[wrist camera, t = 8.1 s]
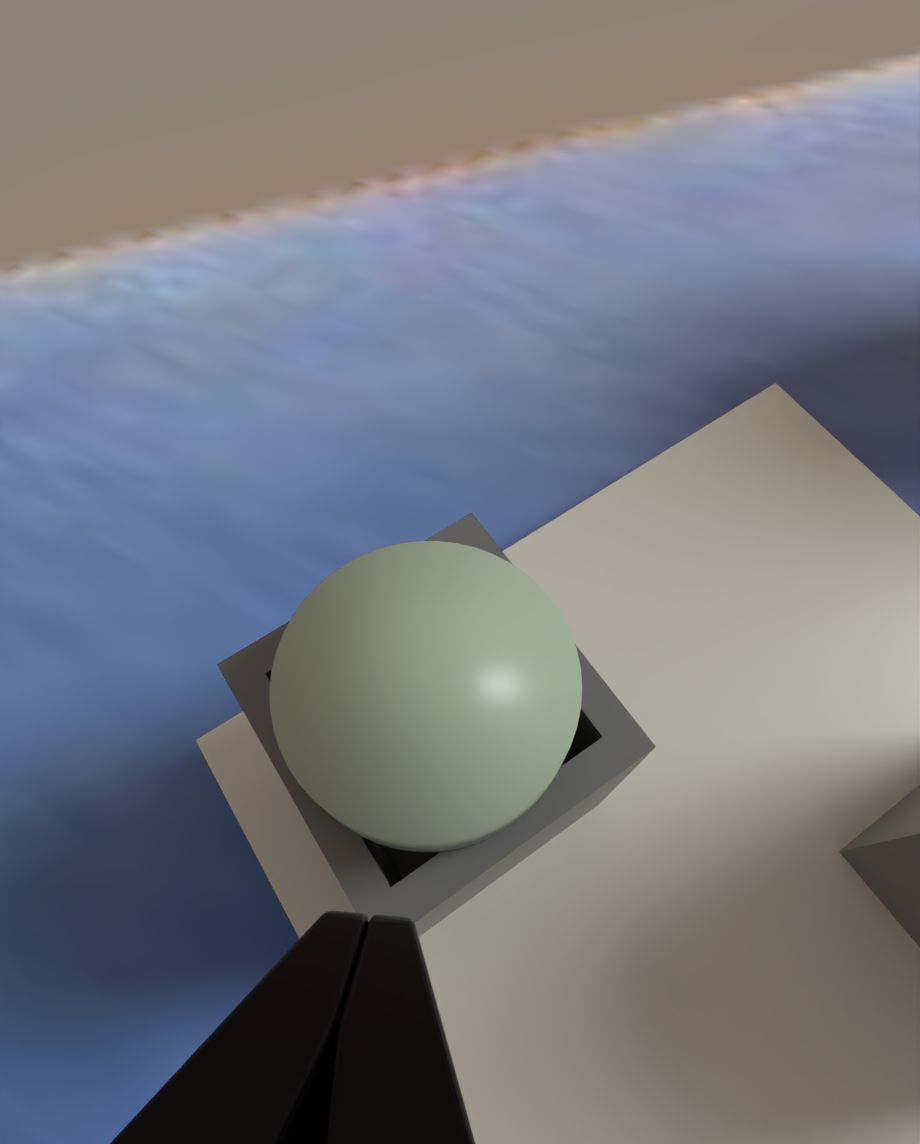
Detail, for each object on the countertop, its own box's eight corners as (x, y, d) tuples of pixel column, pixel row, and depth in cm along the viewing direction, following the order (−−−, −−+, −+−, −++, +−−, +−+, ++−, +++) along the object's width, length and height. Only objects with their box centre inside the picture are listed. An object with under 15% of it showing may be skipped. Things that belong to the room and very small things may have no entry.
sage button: (411, 923, 16) (372, 916, 10) (306, 742, 18) (215, 639, 12) (583, 797, 17) (647, 720, 11) (468, 638, 19) (467, 492, 13)
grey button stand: (640, 1563, 13) (802, 2174, 7) (211, 751, 19) (79, 658, 13) (1278, 899, 18) (1752, 880, 11) (761, 407, 24) (870, 210, 17)
